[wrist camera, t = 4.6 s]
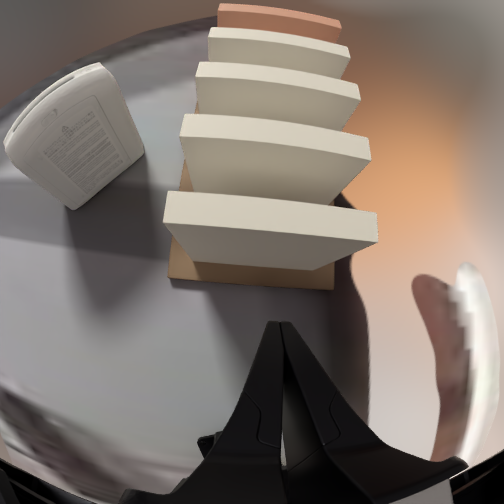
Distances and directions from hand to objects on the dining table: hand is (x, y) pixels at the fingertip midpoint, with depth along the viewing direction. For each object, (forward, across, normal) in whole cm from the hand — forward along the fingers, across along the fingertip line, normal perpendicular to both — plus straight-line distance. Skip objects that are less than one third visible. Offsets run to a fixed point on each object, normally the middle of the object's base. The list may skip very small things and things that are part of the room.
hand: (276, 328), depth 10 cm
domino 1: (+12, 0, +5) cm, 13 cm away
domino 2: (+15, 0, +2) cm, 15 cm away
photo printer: (+18, +16, +1) cm, 24 cm away
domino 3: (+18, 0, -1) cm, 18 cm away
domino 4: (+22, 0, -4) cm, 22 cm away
